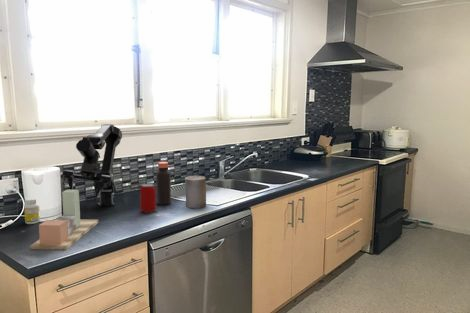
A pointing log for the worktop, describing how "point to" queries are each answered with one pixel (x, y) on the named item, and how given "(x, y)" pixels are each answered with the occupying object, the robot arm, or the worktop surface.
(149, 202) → the beverage can
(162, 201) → the vinegar
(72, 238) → the base board
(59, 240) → the socket block
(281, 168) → the worktop surface
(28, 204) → the supplement bottle
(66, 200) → the pale green slab
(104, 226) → the worktop surface
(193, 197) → the pillar candle
